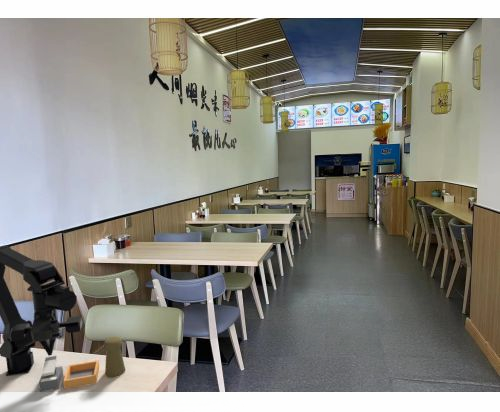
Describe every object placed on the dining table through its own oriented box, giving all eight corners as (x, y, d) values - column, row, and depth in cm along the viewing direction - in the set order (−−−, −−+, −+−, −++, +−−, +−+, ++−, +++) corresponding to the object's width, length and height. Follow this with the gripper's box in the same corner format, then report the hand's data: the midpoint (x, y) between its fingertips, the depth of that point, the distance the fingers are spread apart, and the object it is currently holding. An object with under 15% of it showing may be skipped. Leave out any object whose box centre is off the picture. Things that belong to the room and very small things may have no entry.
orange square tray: (64, 389, 111) (63, 381, 111) (69, 372, 120) (68, 365, 119) (96, 383, 114) (95, 375, 114) (99, 367, 122) (98, 360, 122)
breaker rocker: (42, 376, 111) (41, 373, 110) (46, 359, 116) (45, 357, 115) (54, 374, 112) (53, 371, 111) (57, 357, 117) (56, 355, 116)
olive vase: (119, 378, 116) (116, 344, 114) (101, 376, 117) (97, 343, 116) (129, 367, 122) (126, 334, 120) (111, 365, 123) (109, 333, 121)
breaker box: (39, 392, 110) (37, 376, 110) (45, 378, 117) (43, 363, 116) (58, 388, 112) (57, 373, 111) (63, 375, 119) (61, 360, 118)
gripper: (-1, 321, 103) (6, 375, 105) (74, 311, 108) (80, 363, 110) (12, 306, 113) (18, 355, 116) (80, 297, 119) (85, 344, 121)
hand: (50, 354), depth 115 cm, fingers closed
